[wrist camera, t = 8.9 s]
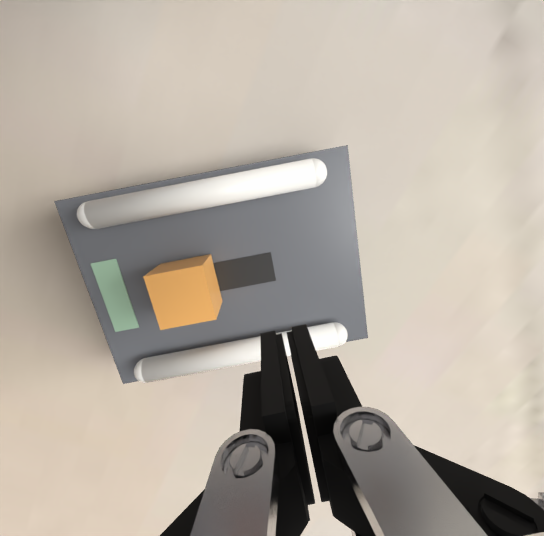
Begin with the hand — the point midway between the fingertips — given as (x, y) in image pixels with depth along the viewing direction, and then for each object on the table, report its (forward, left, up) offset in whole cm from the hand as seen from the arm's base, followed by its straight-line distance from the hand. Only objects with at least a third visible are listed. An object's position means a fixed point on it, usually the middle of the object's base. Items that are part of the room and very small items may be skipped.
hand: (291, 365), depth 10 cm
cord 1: (+4, -7, -13) cm, 15 cm away
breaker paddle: (+7, 0, -13) cm, 15 cm away
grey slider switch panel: (+4, 0, -19) cm, 20 cm away
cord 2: (+4, +6, -13) cm, 15 cm away
